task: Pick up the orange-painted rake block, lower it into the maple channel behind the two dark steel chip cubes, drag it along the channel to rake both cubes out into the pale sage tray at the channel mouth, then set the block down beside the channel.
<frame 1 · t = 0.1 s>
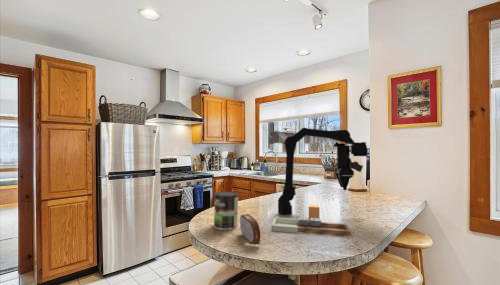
hand: (343, 188, 113), 15 cm above the kitchen counter, fingers open, 9 cm apart
grey and brown slab: (249, 240, 87), on the kitchen counter
channel board: (322, 231, 95), on the kitchen counter
rake block: (313, 223, 106), on the kitchen counter
coffee can: (226, 226, 101), on the kitchen counter
chip b: (303, 228, 97), point 1 cm above the kitchen counter, touching channel board
chip a: (315, 229, 96), point 1 cm above the kitchen counter, touching channel board
tray: (285, 228, 98), on the kitchen counter
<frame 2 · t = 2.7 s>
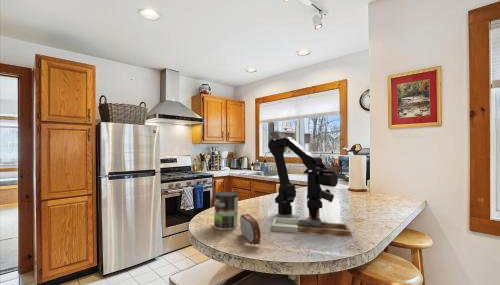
hand: (313, 219, 106), 2 cm above the kitchen counter, fingers closed on rake block, 4 cm apart
rake block: (313, 223, 106), on the kitchen counter, touching gripper
everything else where it was.
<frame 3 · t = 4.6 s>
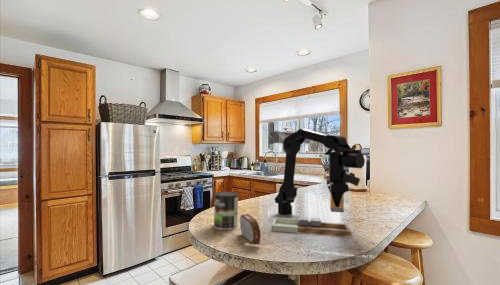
hand: (336, 205, 94), 11 cm above the kitchen counter, fingers closed on rake block, 4 cm apart
rake block: (336, 210, 94), point 9 cm above the kitchen counter, touching gripper
everything else where it was.
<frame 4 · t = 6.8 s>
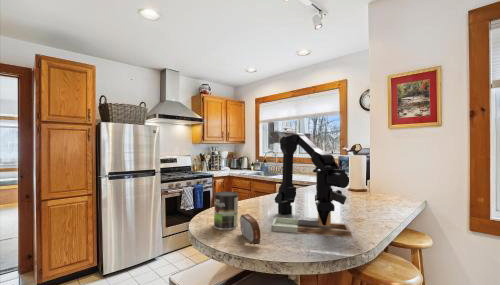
hand: (323, 223, 95), 3 cm above the kitchen counter, fingers closed on rake block, 4 cm apart
rake block: (324, 228, 95), point 1 cm above the kitchen counter, touching gripper
chip b: (303, 228, 97), point 1 cm above the kitchen counter, touching channel board, chip a
chip a: (313, 229, 96), point 1 cm above the kitchen counter, touching channel board, chip b
everything else where it was.
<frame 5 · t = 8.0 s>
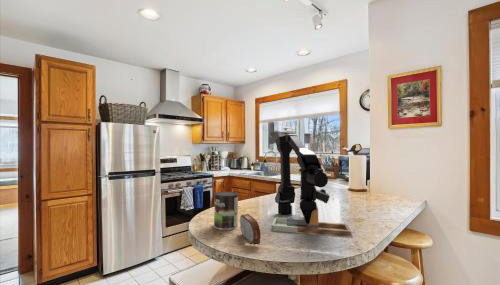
hand: (307, 221, 97), 4 cm above the kitchen counter, fingers closed on rake block, 4 cm apart
rake block: (312, 226, 96), point 2 cm above the kitchen counter, touching gripper
chip b: (291, 227, 98), point 1 cm above the kitchen counter, touching chip a, tray
chip a: (301, 228, 97), point 1 cm above the kitchen counter, touching chip b
everything else where it was.
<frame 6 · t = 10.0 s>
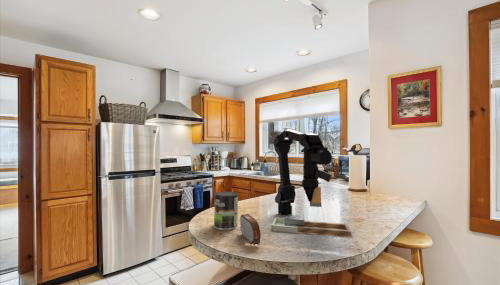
hand: (310, 200, 99), 12 cm above the kitchen counter, fingers closed on rake block, 4 cm apart
rake block: (315, 205, 98), point 10 cm above the kitchen counter, touching gripper
chip b: (289, 227, 98), point 1 cm above the kitchen counter, touching tray
chip a: (299, 228, 97), point 1 cm above the kitchen counter, touching channel board, tray
everything else where it was.
when the fingers open (3 cm above the kitchen counter, at t = 11.8 s): rake block drops 1 cm, on the kitchen counter.
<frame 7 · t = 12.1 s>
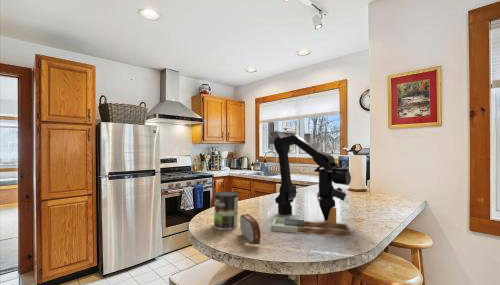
hand: (325, 217, 105), 3 cm above the kitchen counter, fingers open, 7 cm apart
rake block: (330, 225, 104), on the kitchen counter
everything else where it was.
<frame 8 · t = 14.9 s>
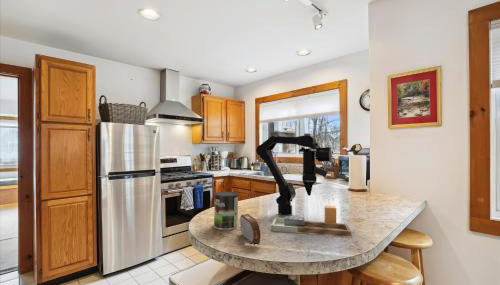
hand: (309, 193, 113), 12 cm above the kitchen counter, fingers open, 9 cm apart
nothing on the kitchen counter moved.
at the end: chip a inside the target area on the tray (5.1 cm from its centre), point 0.8 cm above the tray's base; chip b inside the target area on the tray (1.1 cm from its centre), point 0.8 cm above the tray's base; rake block tilted 0° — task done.
